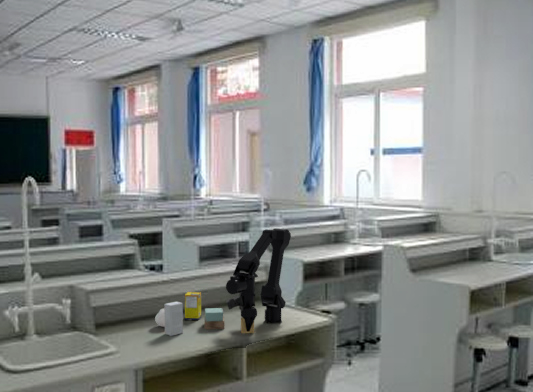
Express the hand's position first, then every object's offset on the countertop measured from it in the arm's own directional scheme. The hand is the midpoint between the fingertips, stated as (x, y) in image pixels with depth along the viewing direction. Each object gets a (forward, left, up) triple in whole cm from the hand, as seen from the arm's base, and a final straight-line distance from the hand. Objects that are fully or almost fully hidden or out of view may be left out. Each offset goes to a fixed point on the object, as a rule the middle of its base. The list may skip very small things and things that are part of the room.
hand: (247, 328), depth 234 cm
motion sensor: (+33, -9, -1) cm, 34 cm away
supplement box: (+22, -21, -1) cm, 30 cm away
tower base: (+13, -8, -2) cm, 15 cm away
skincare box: (+29, +1, -1) cm, 29 cm away
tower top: (+13, -8, +2) cm, 16 cm away
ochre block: (0, 0, -1) cm, 1 cm away
